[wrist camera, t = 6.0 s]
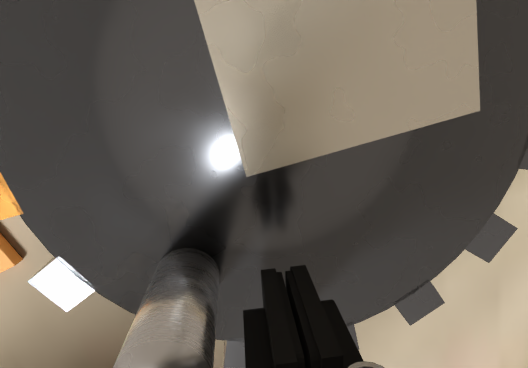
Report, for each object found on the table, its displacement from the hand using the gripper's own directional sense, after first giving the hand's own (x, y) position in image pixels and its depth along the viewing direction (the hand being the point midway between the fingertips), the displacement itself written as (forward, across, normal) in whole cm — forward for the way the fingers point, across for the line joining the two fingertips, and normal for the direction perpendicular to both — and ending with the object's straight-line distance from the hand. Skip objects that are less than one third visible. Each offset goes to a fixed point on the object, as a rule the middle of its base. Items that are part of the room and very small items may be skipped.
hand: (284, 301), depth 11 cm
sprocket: (+3, 0, -7) cm, 7 cm away
